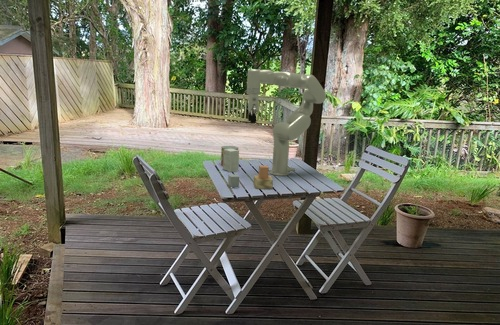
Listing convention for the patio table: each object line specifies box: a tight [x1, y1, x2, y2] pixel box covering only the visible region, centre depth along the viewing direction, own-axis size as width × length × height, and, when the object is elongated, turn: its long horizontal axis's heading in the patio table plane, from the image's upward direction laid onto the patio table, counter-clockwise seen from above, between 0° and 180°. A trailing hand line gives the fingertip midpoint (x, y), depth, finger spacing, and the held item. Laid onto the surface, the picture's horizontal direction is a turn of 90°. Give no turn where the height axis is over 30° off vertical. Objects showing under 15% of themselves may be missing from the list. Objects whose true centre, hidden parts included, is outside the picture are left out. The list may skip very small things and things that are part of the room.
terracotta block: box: [258, 164, 270, 178], centre depth 200 cm, size 4×4×6 cm
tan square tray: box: [253, 174, 274, 190], centre depth 201 cm, size 9×9×5 cm
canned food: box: [220, 145, 239, 167], centre depth 246 cm, size 11×11×12 cm
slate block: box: [227, 174, 240, 188], centre depth 198 cm, size 4×4×6 cm
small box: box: [222, 149, 240, 173], centre depth 233 cm, size 8×6×13 cm
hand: (251, 122), depth 214 cm, fingers open, 9 cm apart
